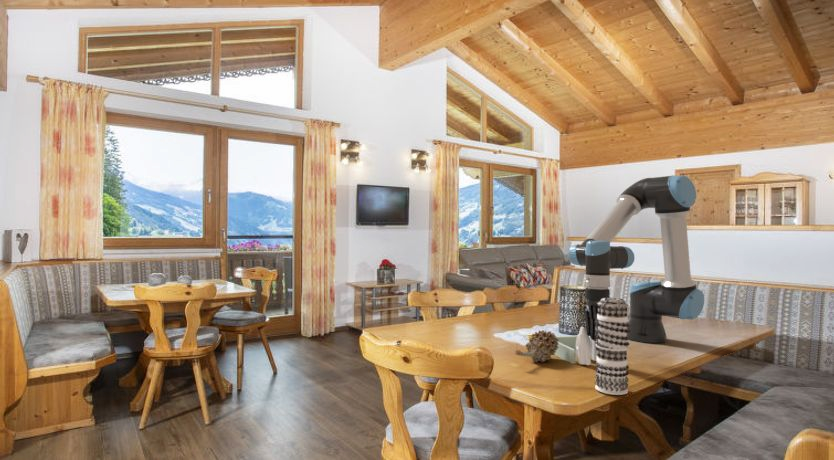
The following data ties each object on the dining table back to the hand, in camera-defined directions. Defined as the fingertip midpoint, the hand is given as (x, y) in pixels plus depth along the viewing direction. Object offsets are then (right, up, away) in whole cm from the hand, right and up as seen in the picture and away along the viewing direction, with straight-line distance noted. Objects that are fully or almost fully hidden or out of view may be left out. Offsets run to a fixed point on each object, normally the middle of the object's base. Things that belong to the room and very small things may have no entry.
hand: (596, 359), depth 158 cm
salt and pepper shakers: (-3, -1, +2) cm, 4 cm away
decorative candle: (-5, -2, -25) cm, 26 cm away
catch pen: (-3, -1, +11) cm, 11 cm away
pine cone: (-20, -1, +1) cm, 20 cm away
